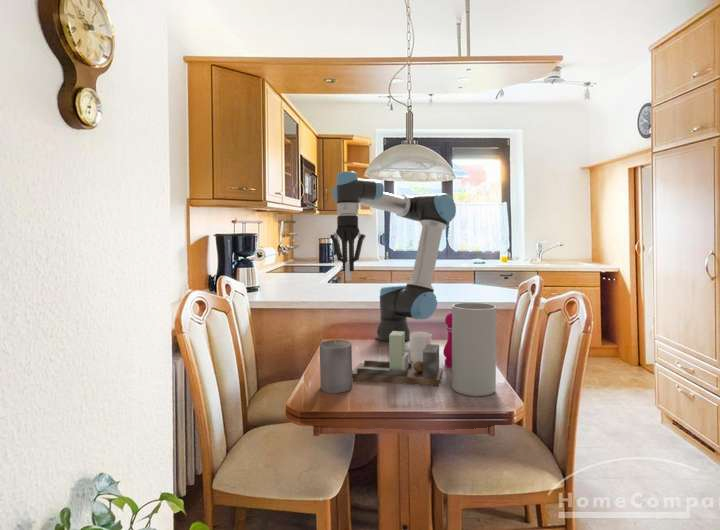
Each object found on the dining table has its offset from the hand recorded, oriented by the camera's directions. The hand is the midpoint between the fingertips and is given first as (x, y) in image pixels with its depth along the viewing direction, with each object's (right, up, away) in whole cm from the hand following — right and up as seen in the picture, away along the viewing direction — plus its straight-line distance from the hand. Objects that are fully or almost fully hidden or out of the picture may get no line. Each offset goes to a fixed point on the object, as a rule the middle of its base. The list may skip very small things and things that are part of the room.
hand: (348, 280), depth 167 cm
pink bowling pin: (+37, -30, -7) cm, 48 cm away
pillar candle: (-3, -32, -29) cm, 43 cm away
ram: (+17, -28, -19) cm, 38 cm away
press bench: (+16, -31, -19) cm, 39 cm away
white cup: (+26, -29, -1) cm, 39 cm away
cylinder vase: (+38, -32, -32) cm, 58 cm away
